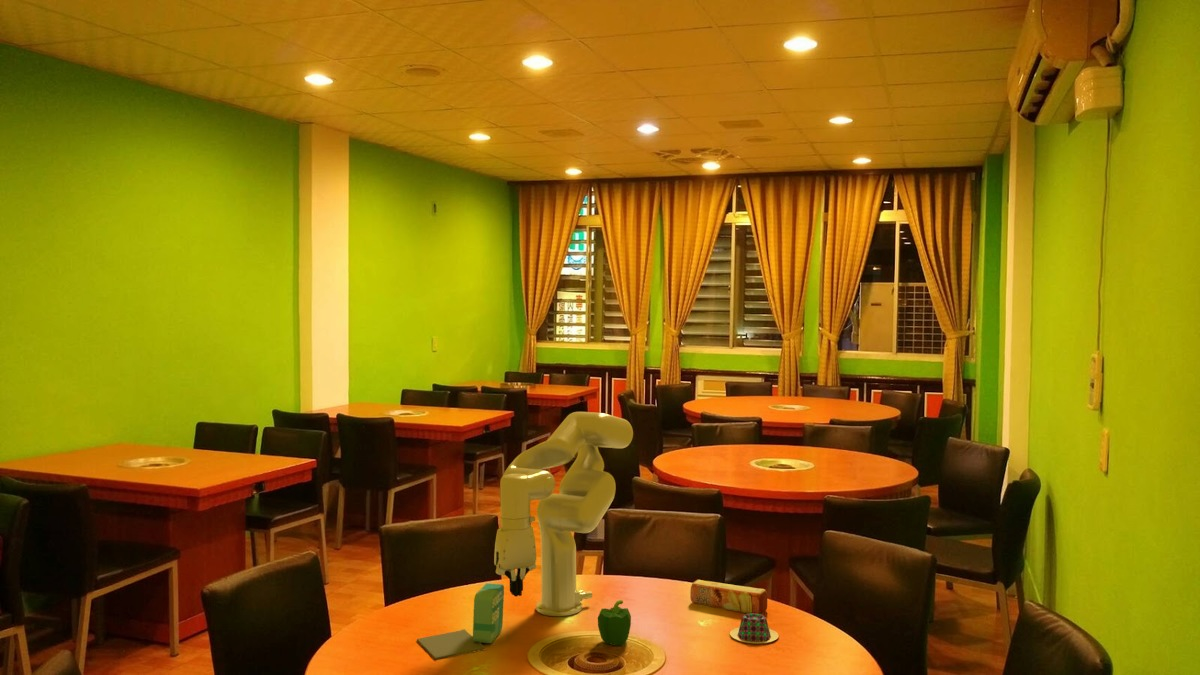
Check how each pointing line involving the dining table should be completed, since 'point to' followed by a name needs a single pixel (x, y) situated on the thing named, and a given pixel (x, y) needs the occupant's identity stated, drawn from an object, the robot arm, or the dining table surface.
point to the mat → (450, 644)
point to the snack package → (729, 597)
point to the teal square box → (488, 613)
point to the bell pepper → (614, 624)
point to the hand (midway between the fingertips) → (516, 594)
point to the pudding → (754, 630)
